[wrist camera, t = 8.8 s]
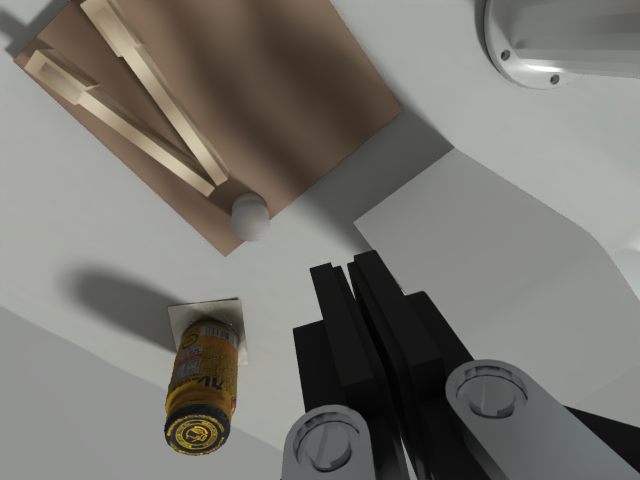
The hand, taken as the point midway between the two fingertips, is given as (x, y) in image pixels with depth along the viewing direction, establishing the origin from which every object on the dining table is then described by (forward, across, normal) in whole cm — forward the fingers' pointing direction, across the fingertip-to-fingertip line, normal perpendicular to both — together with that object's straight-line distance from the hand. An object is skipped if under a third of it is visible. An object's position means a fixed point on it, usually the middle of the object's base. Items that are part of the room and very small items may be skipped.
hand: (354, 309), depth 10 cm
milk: (+29, -12, +14) cm, 35 cm away
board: (+29, +4, -4) cm, 30 cm away
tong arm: (+28, +8, -4) cm, 29 cm away
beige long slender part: (+28, +10, -1) cm, 30 cm away
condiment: (+29, +13, +19) cm, 38 cm away
